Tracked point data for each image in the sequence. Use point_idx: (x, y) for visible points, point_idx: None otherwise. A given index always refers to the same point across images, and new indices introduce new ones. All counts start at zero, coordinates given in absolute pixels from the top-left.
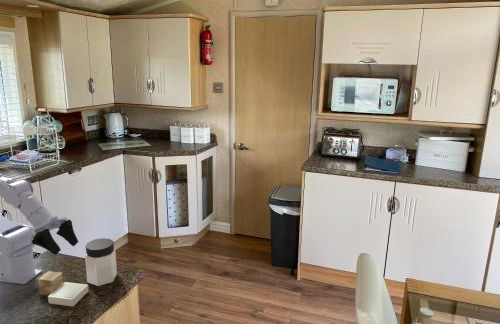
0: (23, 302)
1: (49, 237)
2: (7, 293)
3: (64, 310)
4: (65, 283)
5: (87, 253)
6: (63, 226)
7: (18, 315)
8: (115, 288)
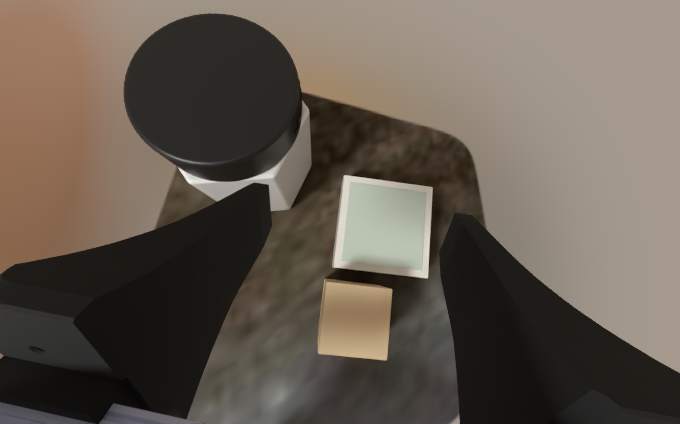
0: (423, 368)
1: (556, 309)
2: None
3: (443, 209)
4: (344, 258)
5: (282, 151)
6: (147, 346)
7: None
8: (318, 107)
